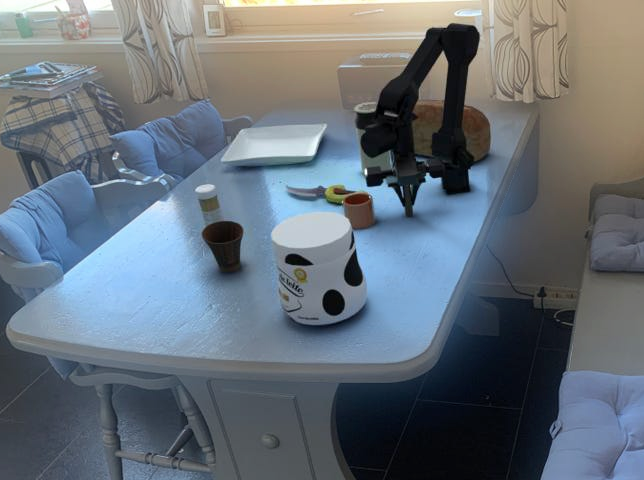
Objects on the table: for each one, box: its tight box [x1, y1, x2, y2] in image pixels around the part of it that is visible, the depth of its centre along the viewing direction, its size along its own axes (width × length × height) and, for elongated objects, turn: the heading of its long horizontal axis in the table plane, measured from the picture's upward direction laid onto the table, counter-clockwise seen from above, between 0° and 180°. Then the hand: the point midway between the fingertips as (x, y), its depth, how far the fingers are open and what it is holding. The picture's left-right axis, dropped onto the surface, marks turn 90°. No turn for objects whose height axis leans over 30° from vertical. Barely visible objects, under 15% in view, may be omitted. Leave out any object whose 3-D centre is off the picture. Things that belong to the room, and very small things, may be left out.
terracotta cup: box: [341, 193, 376, 230], centre depth 183 cm, size 7×7×6 cm
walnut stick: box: [401, 185, 414, 218], centre depth 183 cm, size 2×2×8 cm
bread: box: [394, 99, 492, 163], centre depth 212 cm, size 12×28×14 cm, turn 59°
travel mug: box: [353, 101, 392, 176], centre depth 204 cm, size 8×8×18 cm
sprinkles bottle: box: [194, 183, 225, 227], centre depth 178 cm, size 5×5×13 cm
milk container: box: [270, 211, 368, 328], centre depth 148 cm, size 17×17×18 cm
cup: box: [201, 220, 245, 274], centre depth 166 cm, size 9×9×10 cm
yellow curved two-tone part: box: [285, 184, 369, 204], centre depth 197 cm, size 8×3×25 cm
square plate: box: [220, 123, 329, 167], centre depth 225 cm, size 27×27×4 cm
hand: (408, 205), depth 184 cm, fingers closed on walnut stick, 2 cm apart
